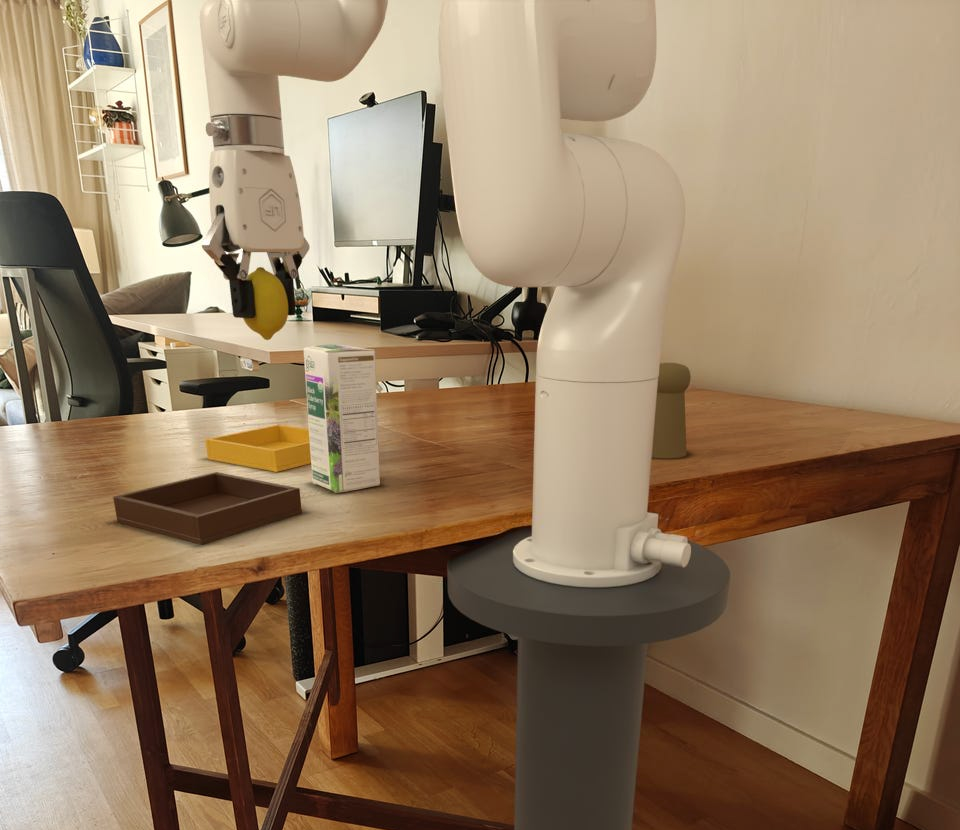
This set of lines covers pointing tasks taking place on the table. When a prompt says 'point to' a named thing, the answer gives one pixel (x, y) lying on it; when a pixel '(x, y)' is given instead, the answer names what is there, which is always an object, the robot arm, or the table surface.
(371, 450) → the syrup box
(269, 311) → the lemon
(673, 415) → the cork
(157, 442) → the table surface
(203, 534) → the brown tray
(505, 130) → the robot arm
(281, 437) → the yellow tray
